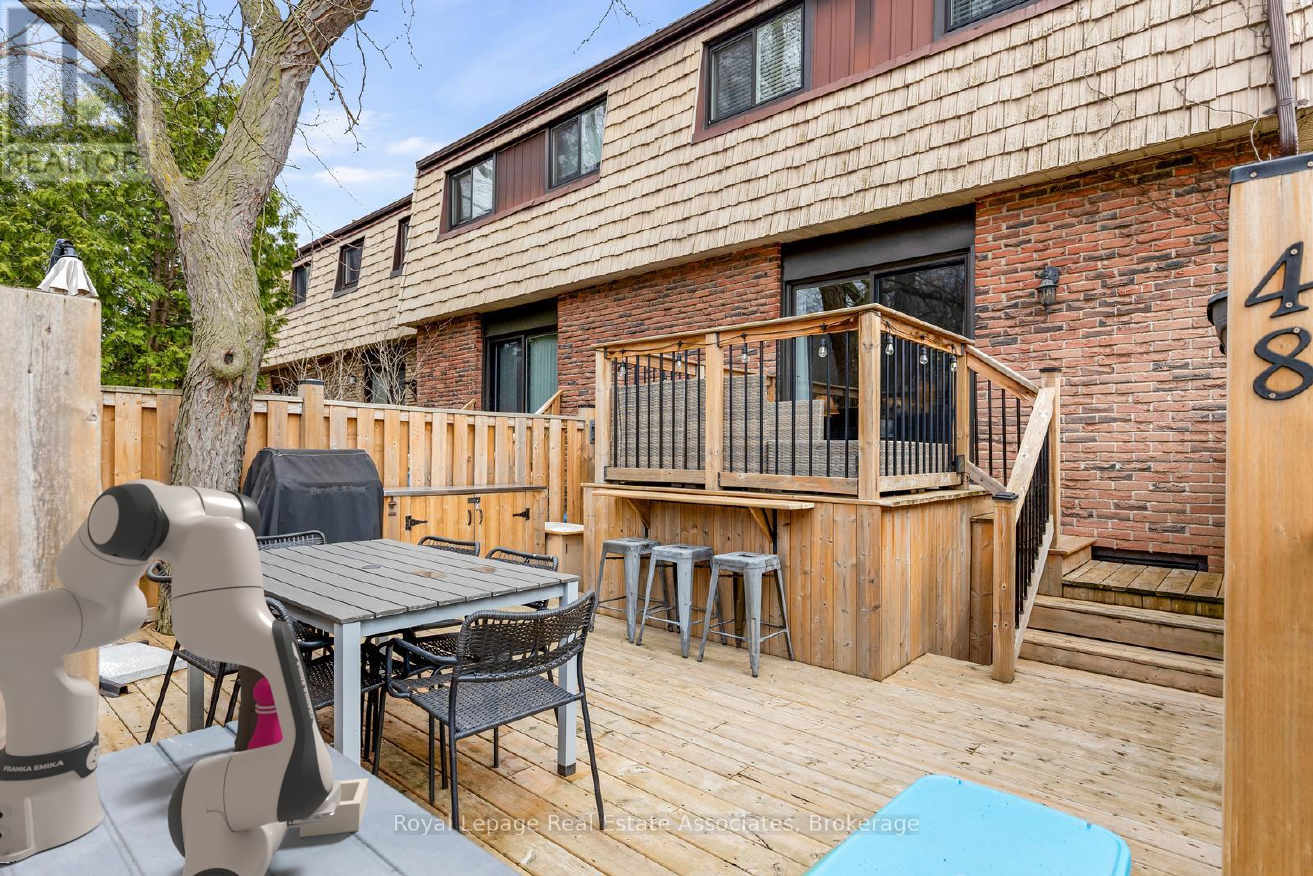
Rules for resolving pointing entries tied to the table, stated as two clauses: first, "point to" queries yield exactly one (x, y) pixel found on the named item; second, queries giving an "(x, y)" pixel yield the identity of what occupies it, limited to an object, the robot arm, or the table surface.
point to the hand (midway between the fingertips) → (280, 782)
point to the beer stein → (247, 707)
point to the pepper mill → (265, 717)
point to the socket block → (344, 810)
